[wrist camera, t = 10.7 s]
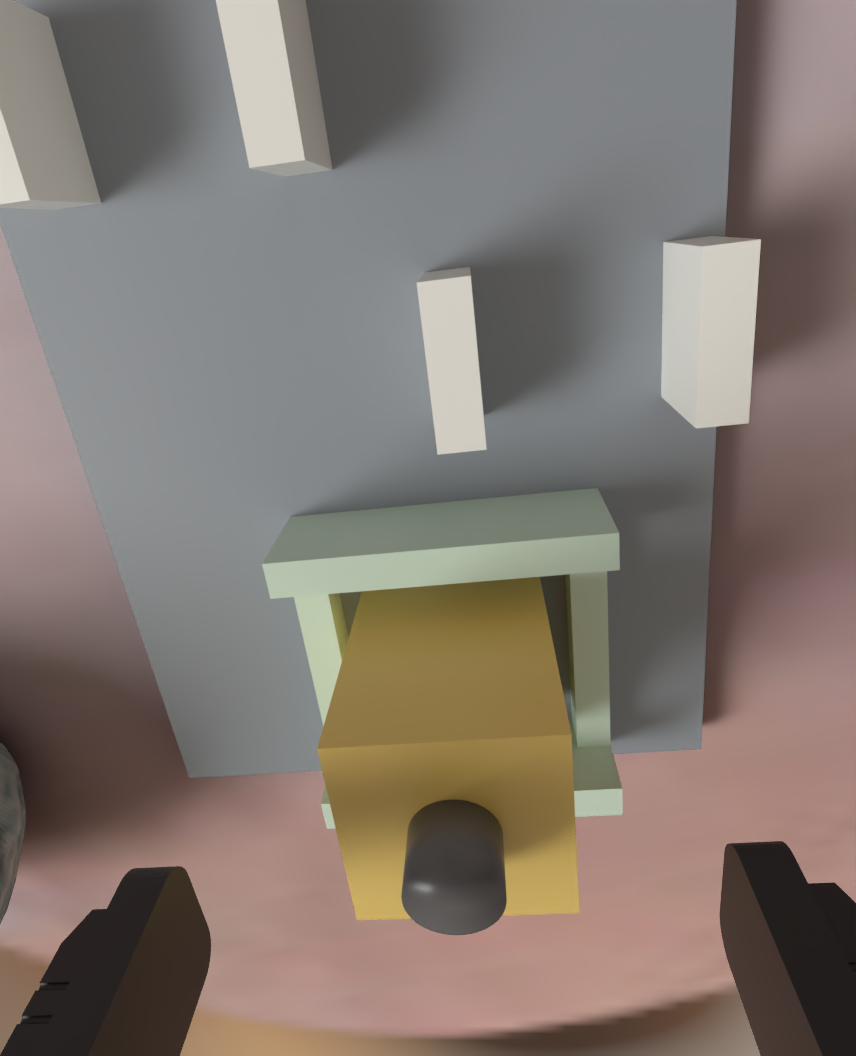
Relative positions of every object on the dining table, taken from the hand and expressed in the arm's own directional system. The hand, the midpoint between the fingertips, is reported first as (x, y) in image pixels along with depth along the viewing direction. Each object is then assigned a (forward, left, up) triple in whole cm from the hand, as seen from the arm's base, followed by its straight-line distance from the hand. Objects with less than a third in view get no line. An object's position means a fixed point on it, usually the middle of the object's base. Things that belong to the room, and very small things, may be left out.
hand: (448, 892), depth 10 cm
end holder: (0, 0, -7) cm, 7 cm away
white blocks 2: (-7, +3, -7) cm, 10 cm away
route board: (-6, -1, -8) cm, 10 cm away
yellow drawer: (0, 0, -7) cm, 7 cm away
